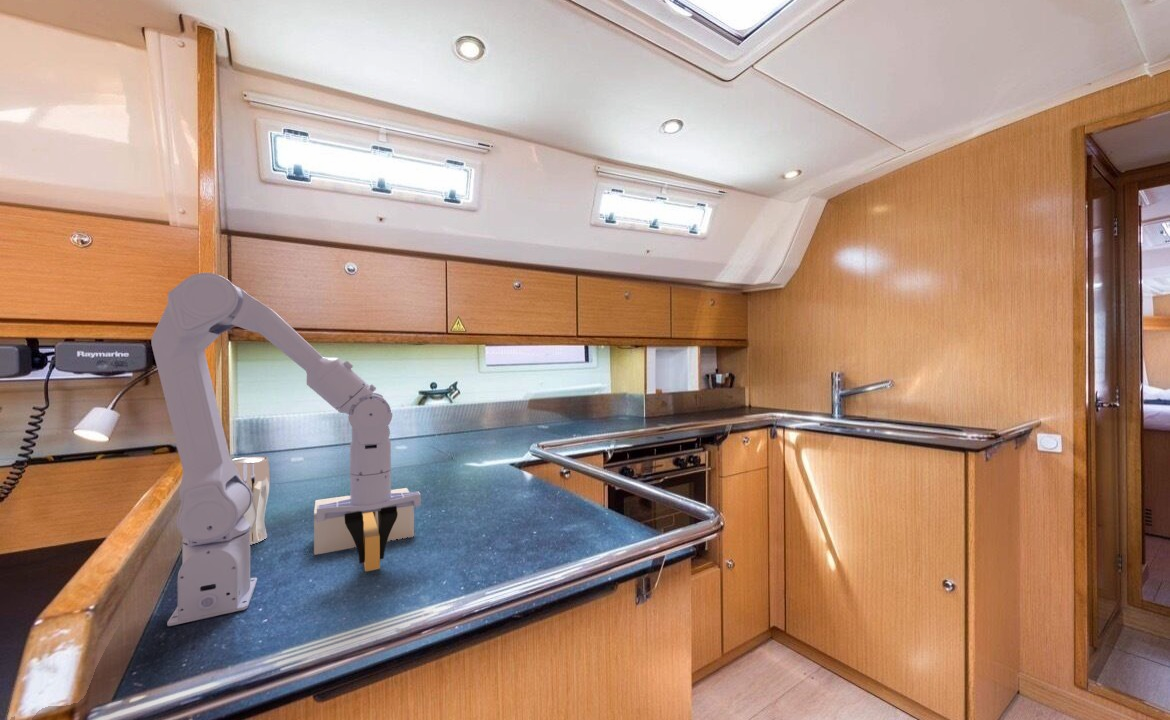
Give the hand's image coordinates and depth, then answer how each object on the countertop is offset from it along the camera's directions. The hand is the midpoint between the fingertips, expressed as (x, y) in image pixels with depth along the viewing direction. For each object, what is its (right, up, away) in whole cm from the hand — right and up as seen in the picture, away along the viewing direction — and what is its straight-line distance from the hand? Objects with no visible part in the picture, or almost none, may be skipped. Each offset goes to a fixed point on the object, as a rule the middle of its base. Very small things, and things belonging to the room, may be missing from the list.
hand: (371, 558), depth 70 cm
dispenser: (-8, -2, +14) cm, 16 cm away
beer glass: (-29, -3, +12) cm, 31 cm away
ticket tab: (-2, -1, +4) cm, 5 cm away
